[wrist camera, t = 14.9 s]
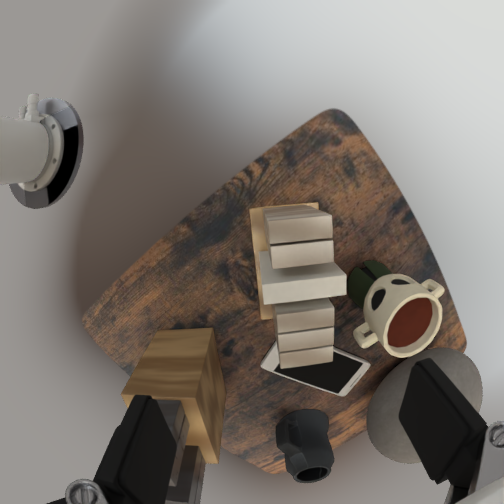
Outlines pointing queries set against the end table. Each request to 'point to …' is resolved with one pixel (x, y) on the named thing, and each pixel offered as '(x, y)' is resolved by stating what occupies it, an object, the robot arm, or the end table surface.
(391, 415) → the grey oval stone
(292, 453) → the mug
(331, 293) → the grey flat block
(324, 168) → the end table surface
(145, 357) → the wooden stand
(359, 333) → the character mug
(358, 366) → the smartphone
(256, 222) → the grey-brown wooden block stand
